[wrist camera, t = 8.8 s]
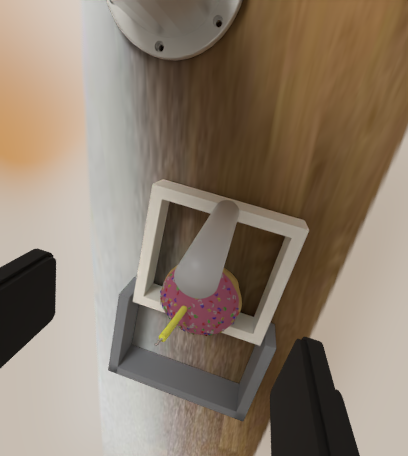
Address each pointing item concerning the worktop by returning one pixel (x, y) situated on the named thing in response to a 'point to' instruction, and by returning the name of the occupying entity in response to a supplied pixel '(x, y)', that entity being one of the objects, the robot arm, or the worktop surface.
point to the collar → (216, 252)
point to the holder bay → (185, 367)
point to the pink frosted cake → (200, 307)
